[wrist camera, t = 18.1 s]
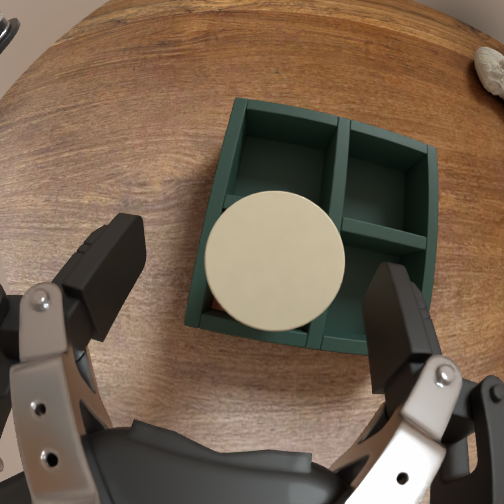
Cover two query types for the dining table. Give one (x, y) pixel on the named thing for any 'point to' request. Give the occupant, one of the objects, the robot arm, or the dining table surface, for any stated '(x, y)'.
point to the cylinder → (274, 261)
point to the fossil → (490, 70)
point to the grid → (327, 209)
